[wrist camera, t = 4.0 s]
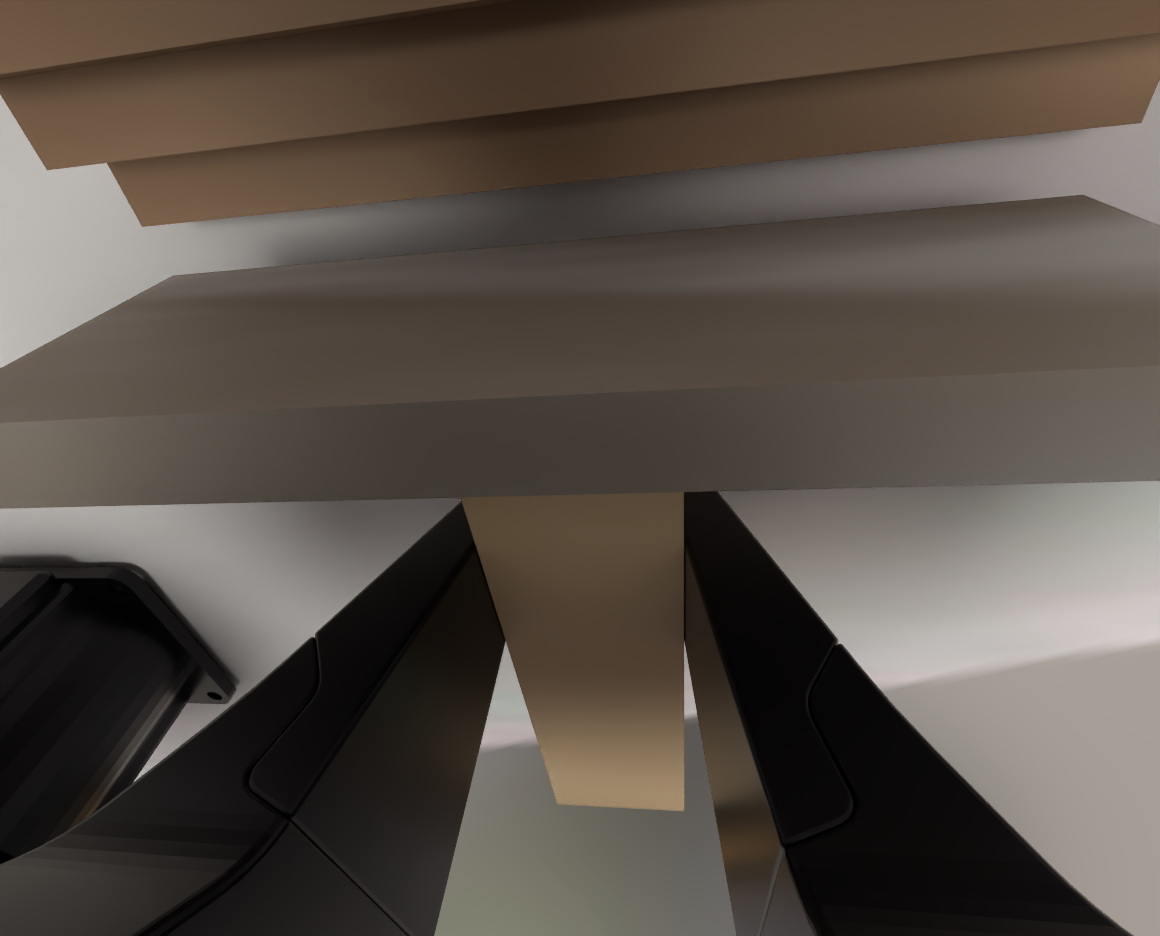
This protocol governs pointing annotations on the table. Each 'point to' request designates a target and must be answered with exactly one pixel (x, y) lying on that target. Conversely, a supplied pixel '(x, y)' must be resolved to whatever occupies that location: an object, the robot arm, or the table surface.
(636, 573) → the scraper
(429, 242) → the table surface
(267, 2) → the bench
